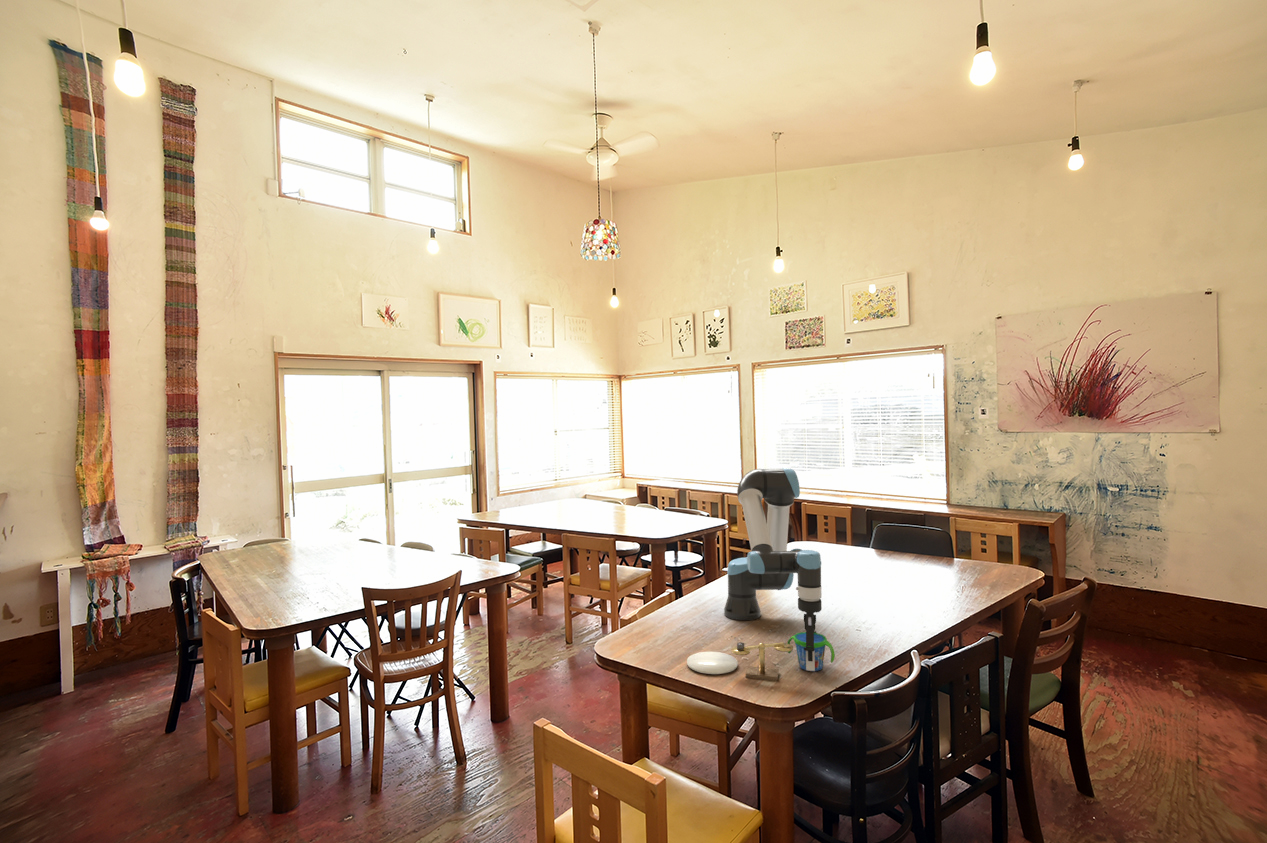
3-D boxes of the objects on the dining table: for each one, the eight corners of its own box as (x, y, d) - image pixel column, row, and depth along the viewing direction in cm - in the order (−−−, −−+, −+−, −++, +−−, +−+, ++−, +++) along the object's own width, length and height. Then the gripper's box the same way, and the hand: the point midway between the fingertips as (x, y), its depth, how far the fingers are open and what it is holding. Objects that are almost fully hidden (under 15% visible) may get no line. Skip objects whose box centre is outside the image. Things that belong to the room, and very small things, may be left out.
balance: (733, 668, 201) (732, 634, 201) (793, 674, 196) (793, 640, 196) (730, 675, 196) (730, 641, 196) (793, 682, 190) (792, 647, 190)
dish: (692, 652, 215) (692, 649, 215) (740, 657, 210) (740, 654, 210) (682, 672, 199) (682, 668, 199) (734, 678, 194) (734, 674, 194)
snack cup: (781, 666, 202) (781, 636, 202) (796, 656, 210) (796, 627, 210) (825, 679, 192) (825, 647, 192) (840, 668, 199) (839, 638, 199)
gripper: (798, 587, 214) (799, 647, 214) (796, 608, 190) (797, 676, 190) (821, 588, 212) (821, 649, 212) (821, 610, 188) (822, 678, 188)
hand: (810, 662), depth 201 cm, fingers open, 13 cm apart
